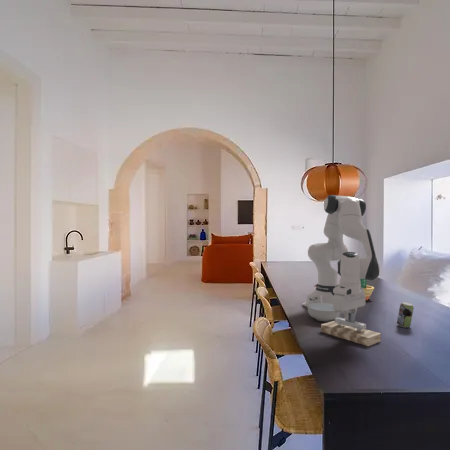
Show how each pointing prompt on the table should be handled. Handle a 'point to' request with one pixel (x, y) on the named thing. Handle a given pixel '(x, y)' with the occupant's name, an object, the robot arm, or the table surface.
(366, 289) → the potted cactus
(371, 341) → the beige flat rectangular block
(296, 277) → the table surface
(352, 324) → the gray u-shaped bracket
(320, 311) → the cereal bowl
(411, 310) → the beverage can
